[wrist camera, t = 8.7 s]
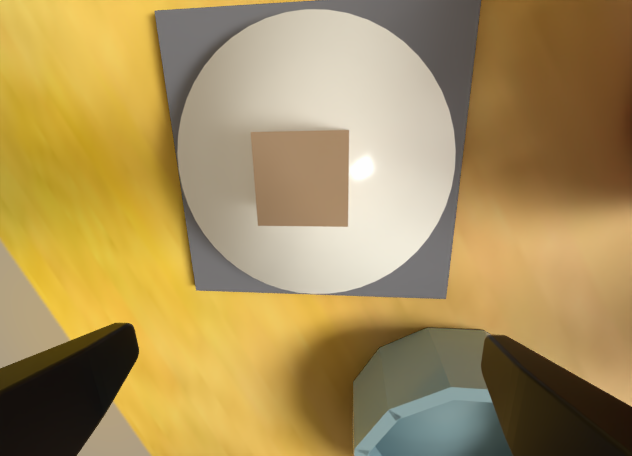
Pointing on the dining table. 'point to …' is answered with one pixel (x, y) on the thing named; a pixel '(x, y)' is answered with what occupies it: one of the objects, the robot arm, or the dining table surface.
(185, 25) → the mat
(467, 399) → the bowl
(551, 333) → the dining table surface
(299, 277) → the lid
